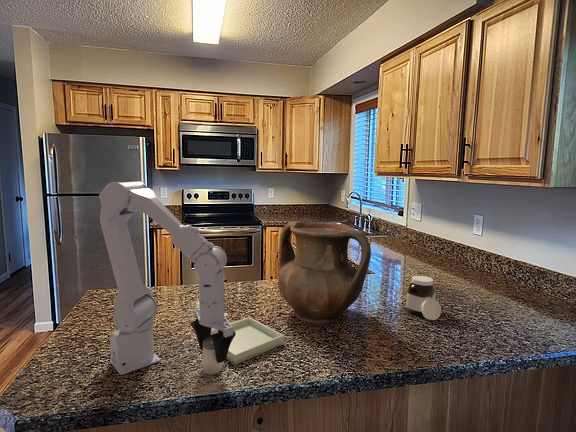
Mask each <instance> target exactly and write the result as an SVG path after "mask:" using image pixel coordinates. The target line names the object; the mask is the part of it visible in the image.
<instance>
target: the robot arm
mask: <svg viewBox="0 0 576 432" xmlns="http://www.w3.org/2000/svg"><path fill="white" fill-rule="evenodd" d="M98 198H99V202H100V212H99V223H100V226H101V230H102V234H103V238H104V242H105V245H106V249H107V253H108V257H109V261H110V264H111V268H112V272H113V276H114V280H115V282H116V288H117V290H118V292H117V295H116V296H115V299H114V301H113V305H112V306H113V309H114V310H113V311H114V312H113V318H112V319H113V322H114V323H113V324H114V326H115V327H116V328H117V330H116V331H112V333H110V335H109V350H110V360H109V361H110V363H111V365H112V367H114V370H116V371H117V373H118V375H121V376H122V375H125V374H128V373H130V372H133V371H137V370H139V369H142V368H145V367H148V366H150V365H154V364H156V363H159V362H160V361H161V358H160V357H159V356H158V355H157V354H156V353H155V347H154V316H156V314H157V312H158V309H159V308H158V307H159V305H158V301H157V300H156V298H155V297H154V296H153V294H152V291H151V289H150V288H149V287H147V286H146V285H144V284H143V281H142V276H141V272H140V268H139V265H138V262H137V256H136V254H135V249H134V246H133V242H132V238H131V234H130V230H129V227H128V226H129V225H128V222H129V221H130V219H131V217H132V216H133V215H134V213H141V214H145V215H146V216H148V217H149V218H151V219H152V220H153V221H154V222H155V223H156V224H158V225H159V226H160V227H161V228H162V229H163V230H165V231H166V232H167V233H169V235H171V242H172V244H173V245H174V246H175V247H176V248H177V249H178V250H179V251H180V252H182V254H183V255H185V256H186V257H187V258H188V259H189V261H191V262H192V263H193V269H194V271H195V272H196V273H197V275H198V297H199V298H198V301H199V305H198V306H199V307H198V308H195V309H193V318H195V320H192V321H191V322H190V326H191V328H192V329H193V331H194V333H195V336H196V339H197V342H198V343H197V344H198V345H199V349H200V350H201V351H203V340H204V339H206V338H209V337H210V338H211V340H212V342H213V345H214V348H215V356H216V361H217V363H221V362H222V363H223V362H225V361H226V360H227V359H226V358H227V354H228V350H229V347H230V344H231V342H232V340H233V338H234V337H235V335H236V333H235V331H233V327H232V326H231V325H230V322H229V321H228V318H229V314H228V313H227V312H225V270H224V268H225V266H226V265H227V263H228V257H227V254H226V252H225V250H224V249H223V248H222V247H220V246H218V245H215V244H214V243H213V242H209V241H208V240H207V239H206V238H205V237H204V236H203V235H202V234H201V233H200V232H199V231H200V229H199V228H198V227H197V226H193V225H191V224H186V225H185V224H183V223H182V222H181V221H180V220H179V219H178V218H177V217H176V216H175V215H174V214H173V213H172V212H171V210H169V209H168V208H167V206H165V205H164V203H162V201H161V200H160V199H159V198H158V197H157V195H156V194H155V192H154V190H152V189H151V188H148V186H147V185H146V183H144V182H142V181H140V180H135V181H134V180H133V181H127V182H126V181H124V182H123V181H122V182H121V181H120V182H119V181H112V182H109V183H108V184H106V185H105V186H104V188H103V189H102V191H101V192H100V193H99V194H98ZM221 269H222V270H221ZM211 329H217V330H218V333H215V334H212V335H211Z"/></svg>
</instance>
